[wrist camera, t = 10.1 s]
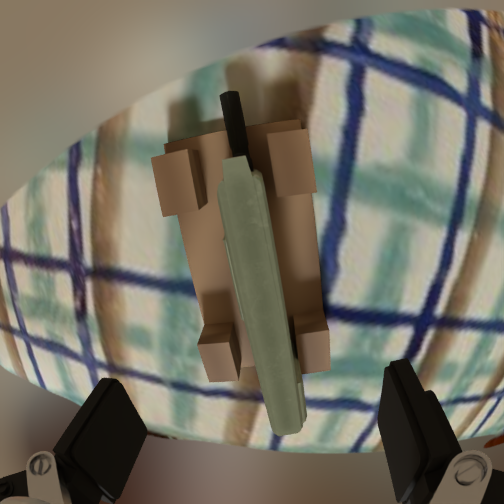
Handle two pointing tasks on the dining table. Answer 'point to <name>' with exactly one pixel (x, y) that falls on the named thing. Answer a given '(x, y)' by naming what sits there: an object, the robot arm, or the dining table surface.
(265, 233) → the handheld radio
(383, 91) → the dining table surface
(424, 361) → the dining table surface
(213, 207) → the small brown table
